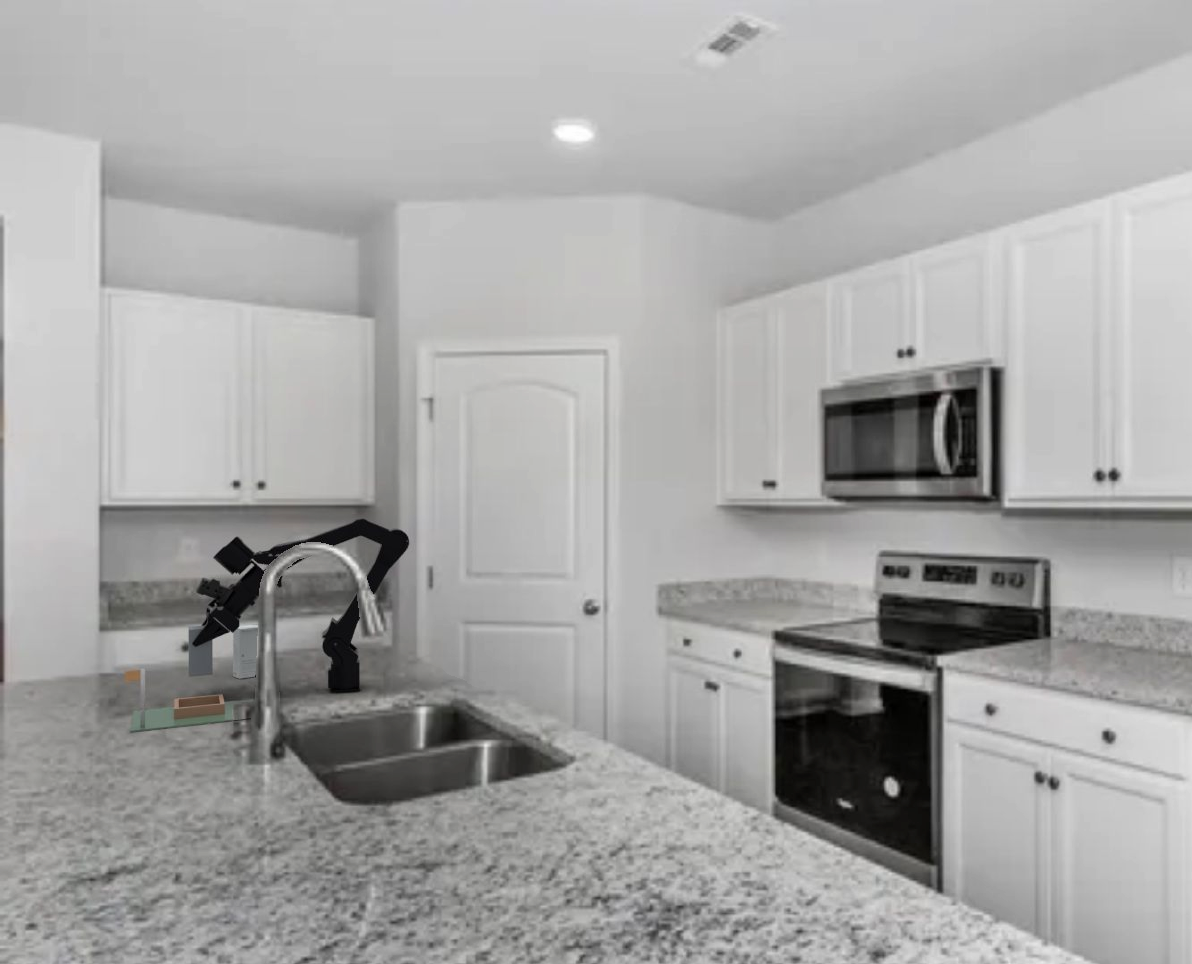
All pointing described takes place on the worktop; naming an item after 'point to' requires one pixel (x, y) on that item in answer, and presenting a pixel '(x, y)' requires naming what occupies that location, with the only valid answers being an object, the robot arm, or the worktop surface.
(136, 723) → the green base plate
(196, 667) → the grey block
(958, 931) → the worktop surface
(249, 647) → the skincare box
